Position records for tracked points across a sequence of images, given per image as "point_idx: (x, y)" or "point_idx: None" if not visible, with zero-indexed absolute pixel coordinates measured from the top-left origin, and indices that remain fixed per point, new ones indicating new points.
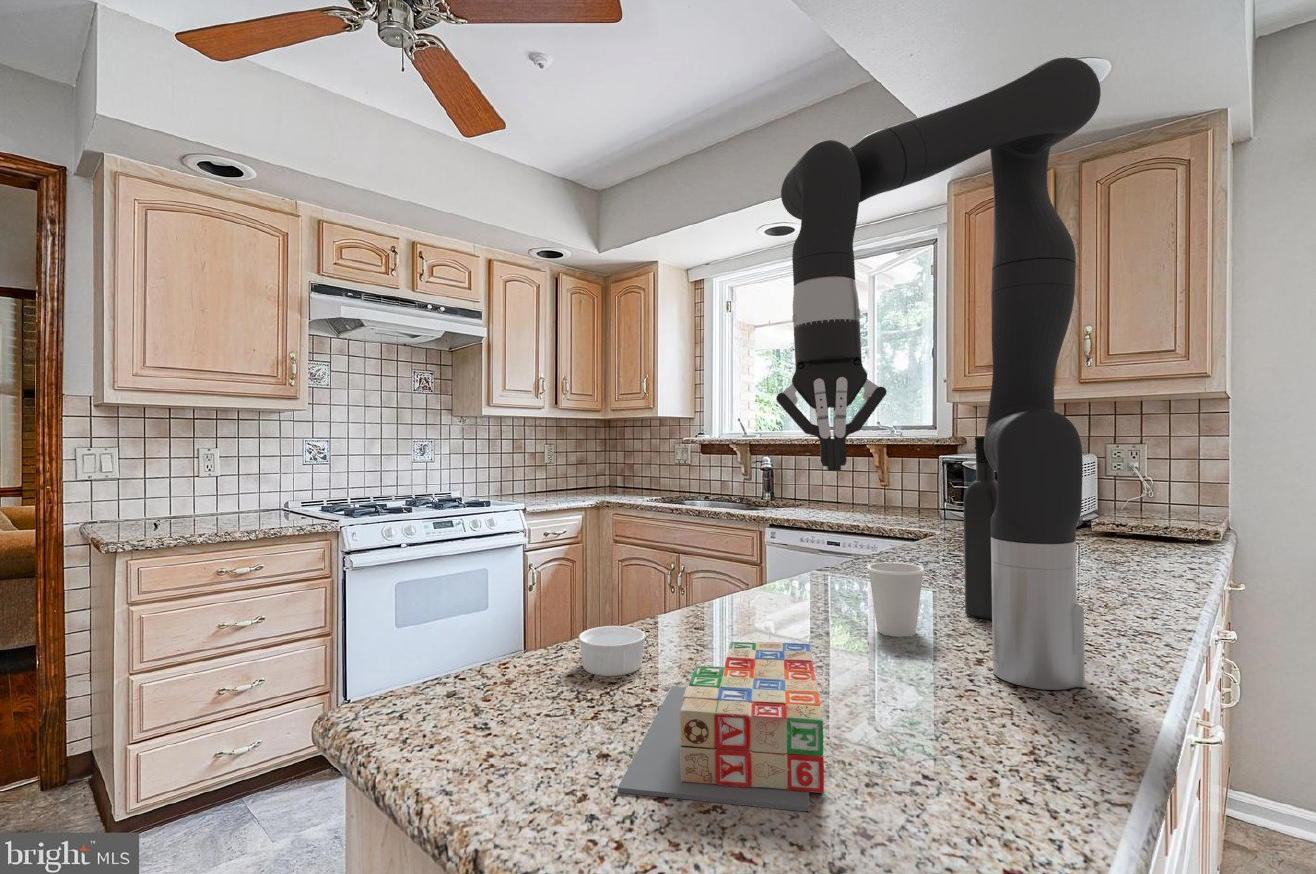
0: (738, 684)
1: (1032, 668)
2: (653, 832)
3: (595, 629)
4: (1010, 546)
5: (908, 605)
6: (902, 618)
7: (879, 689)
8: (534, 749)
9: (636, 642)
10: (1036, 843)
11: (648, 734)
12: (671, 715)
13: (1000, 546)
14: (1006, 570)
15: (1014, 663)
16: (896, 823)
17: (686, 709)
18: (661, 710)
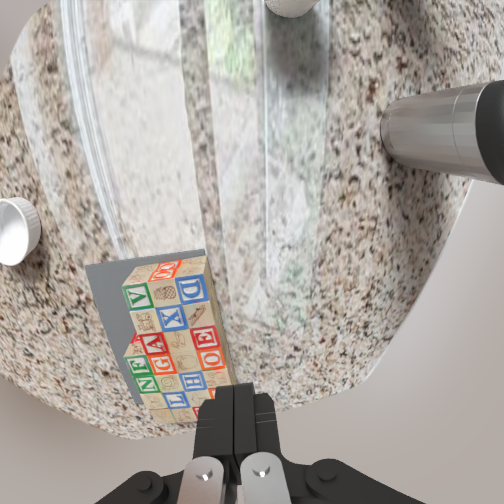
0: (172, 387)
1: (413, 167)
2: None
3: None
4: (482, 168)
5: (312, 3)
6: (300, 10)
7: (270, 200)
8: (69, 373)
9: (28, 244)
10: (336, 384)
11: (114, 352)
12: (112, 322)
13: (473, 152)
14: (457, 160)
15: (402, 159)
16: (275, 392)
17: (158, 422)
18: (101, 316)
